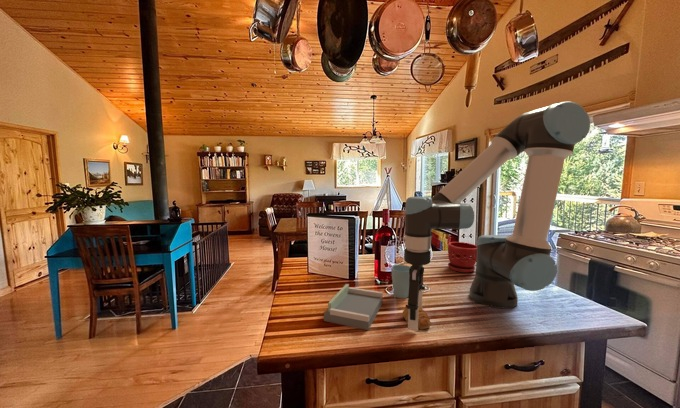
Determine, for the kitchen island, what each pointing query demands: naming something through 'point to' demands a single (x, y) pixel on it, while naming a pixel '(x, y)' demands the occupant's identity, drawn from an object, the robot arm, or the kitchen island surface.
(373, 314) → the dock
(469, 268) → the plant pot
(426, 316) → the pastry
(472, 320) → the kitchen island surface
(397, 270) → the cup
